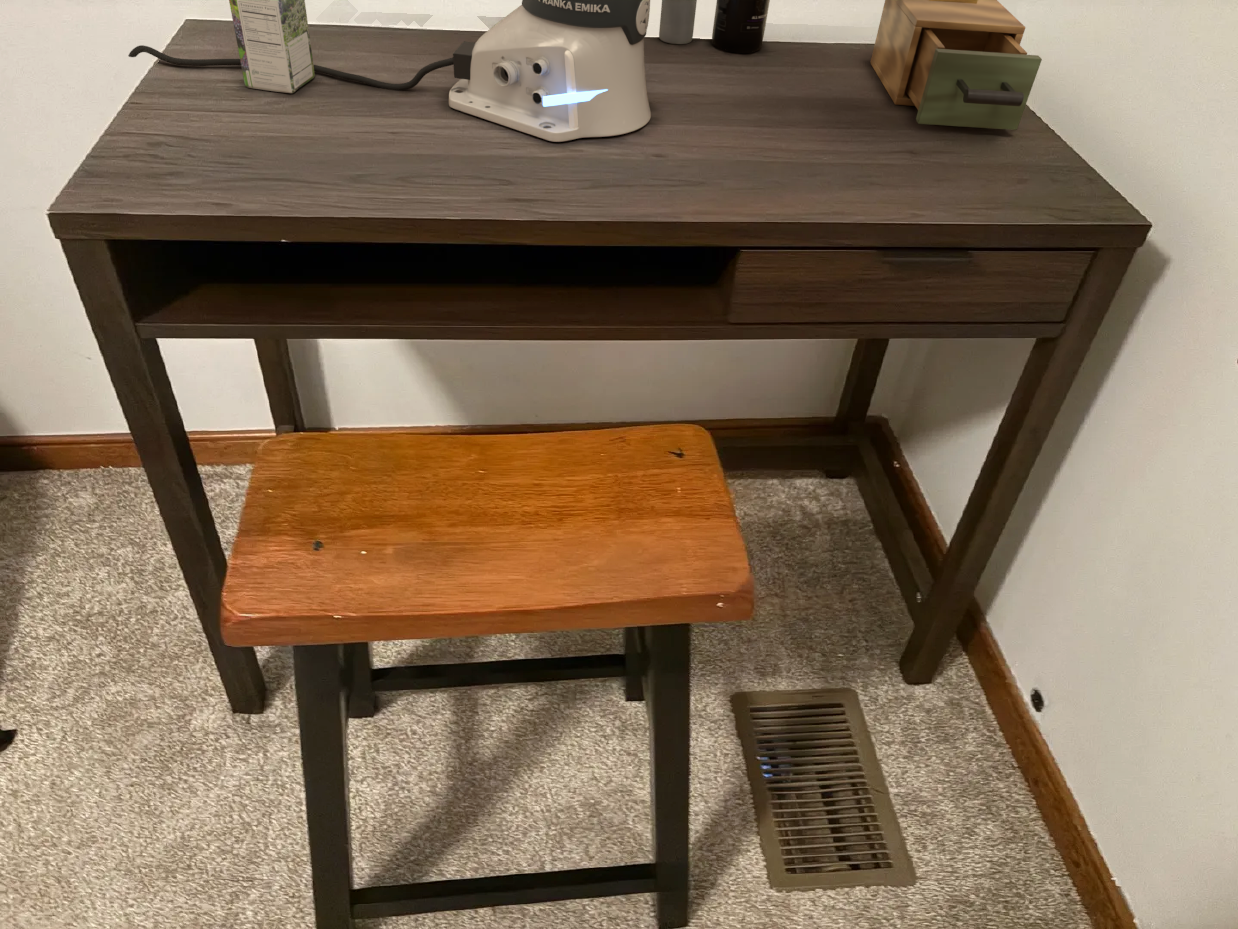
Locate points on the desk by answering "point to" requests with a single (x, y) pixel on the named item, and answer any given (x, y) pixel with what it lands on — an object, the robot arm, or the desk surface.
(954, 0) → the block
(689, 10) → the planter
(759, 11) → the supplement bottle
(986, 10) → the cabinet
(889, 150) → the desk surface
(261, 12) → the syrup box
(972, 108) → the drawer
